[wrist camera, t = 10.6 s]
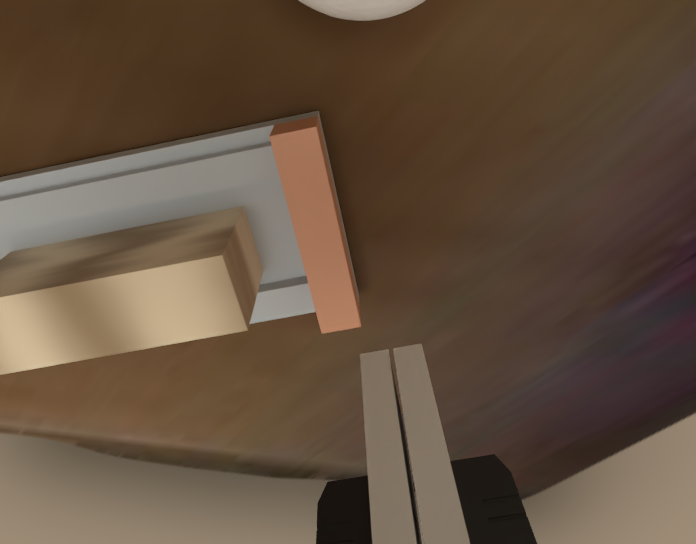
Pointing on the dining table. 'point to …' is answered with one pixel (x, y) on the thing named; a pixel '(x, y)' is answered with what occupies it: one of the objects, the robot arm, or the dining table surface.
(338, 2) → the supplement bottle
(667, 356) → the dining table surface
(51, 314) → the tan wooden block
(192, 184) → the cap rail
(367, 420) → the robot arm
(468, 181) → the dining table surface
